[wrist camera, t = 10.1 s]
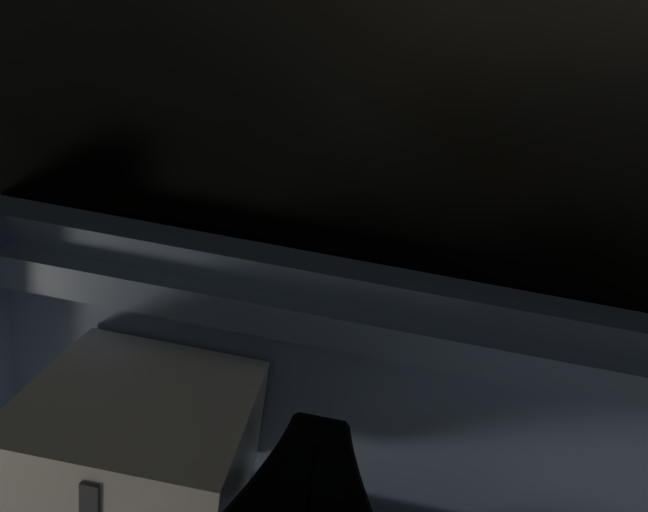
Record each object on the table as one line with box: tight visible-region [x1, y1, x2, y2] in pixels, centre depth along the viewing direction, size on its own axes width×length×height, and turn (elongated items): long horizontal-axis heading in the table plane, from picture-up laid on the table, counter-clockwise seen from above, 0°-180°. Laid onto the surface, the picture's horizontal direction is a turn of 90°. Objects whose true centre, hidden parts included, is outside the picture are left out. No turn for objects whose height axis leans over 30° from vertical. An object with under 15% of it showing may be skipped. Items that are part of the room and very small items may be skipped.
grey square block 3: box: [0, 328, 270, 512], centre depth 10 cm, size 3×4×4 cm, turn 81°
